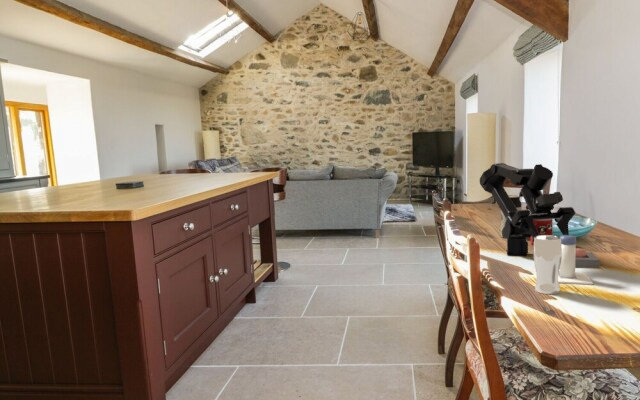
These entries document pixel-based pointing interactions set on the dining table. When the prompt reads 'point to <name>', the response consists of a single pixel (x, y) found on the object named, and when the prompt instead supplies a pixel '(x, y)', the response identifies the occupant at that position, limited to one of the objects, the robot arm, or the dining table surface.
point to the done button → (580, 253)
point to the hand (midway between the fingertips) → (553, 238)
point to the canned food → (542, 228)
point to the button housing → (587, 261)
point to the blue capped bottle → (568, 256)
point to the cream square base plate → (576, 279)
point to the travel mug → (517, 204)
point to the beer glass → (547, 263)
